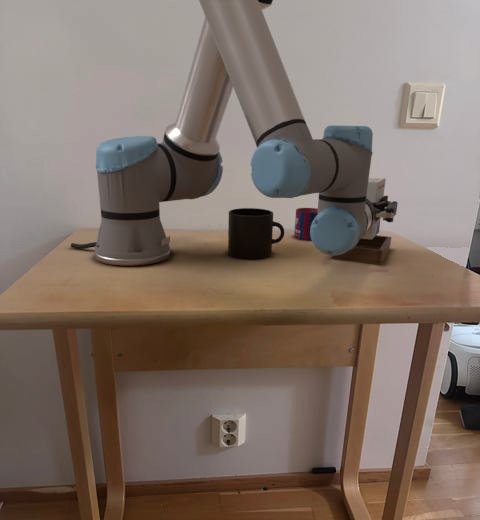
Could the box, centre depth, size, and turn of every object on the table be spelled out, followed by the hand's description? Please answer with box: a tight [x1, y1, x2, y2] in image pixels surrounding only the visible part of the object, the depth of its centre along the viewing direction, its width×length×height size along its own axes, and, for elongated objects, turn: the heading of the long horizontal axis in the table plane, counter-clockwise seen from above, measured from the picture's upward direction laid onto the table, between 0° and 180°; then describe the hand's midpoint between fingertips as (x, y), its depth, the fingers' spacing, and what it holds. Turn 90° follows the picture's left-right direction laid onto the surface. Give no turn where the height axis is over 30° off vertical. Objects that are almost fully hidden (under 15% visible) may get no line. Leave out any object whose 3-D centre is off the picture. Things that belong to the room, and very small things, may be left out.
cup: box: [293, 207, 318, 241], centre depth 121 cm, size 7×10×7 cm
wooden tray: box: [331, 234, 392, 266], centre depth 107 cm, size 10×14×3 cm
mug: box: [227, 207, 285, 260], centre depth 104 cm, size 9×12×9 cm
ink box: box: [362, 177, 387, 240], centre depth 104 cm, size 8×5×12 cm, turn 154°
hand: (372, 201), depth 108 cm, fingers closed on ink box, 5 cm apart
